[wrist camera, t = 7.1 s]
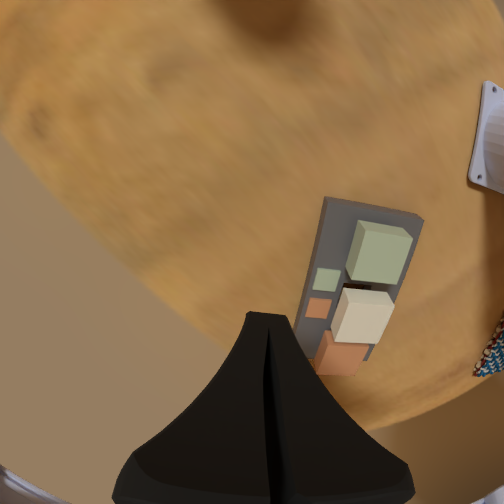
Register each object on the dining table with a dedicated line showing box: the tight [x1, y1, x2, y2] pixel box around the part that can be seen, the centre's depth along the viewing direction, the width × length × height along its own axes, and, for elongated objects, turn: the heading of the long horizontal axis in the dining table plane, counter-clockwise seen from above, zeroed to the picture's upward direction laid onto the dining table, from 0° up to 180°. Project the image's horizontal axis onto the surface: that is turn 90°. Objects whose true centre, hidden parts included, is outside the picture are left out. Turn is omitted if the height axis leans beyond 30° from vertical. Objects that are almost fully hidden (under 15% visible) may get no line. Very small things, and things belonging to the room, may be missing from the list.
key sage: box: [345, 220, 413, 285], centre depth 18 cm, size 3×3×3 cm
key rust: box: [314, 330, 369, 376], centre depth 22 cm, size 3×3×3 cm
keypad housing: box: [293, 196, 424, 361], centre depth 21 cm, size 7×13×1 cm, turn 173°
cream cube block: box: [331, 288, 395, 344], centre depth 19 cm, size 3×3×3 cm
